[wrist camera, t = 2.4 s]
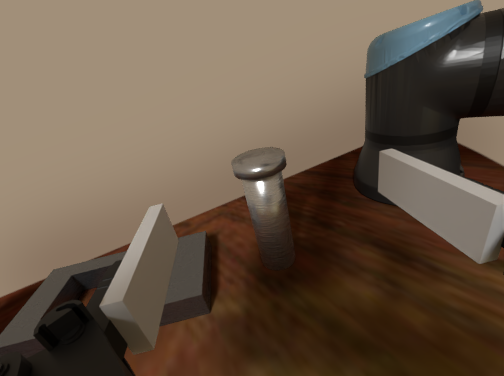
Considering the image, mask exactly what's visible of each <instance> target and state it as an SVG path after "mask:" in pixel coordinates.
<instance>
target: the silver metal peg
mask: <svg viewBox="0 0 504 376" xmlns="http://www.w3.org/2000/svg"><path fill="white" fill-rule="evenodd" d="M231 164H232V168H233V172H234V175H235V177H237V178H238V179H241V180H242V184H243V187H244V192H245V196H246V200H247V204H248V208H249V212H250V216H251V220H252V224H253V228H254V231H255V235H256V239H257V243H258V247H259V251H260V255H261V259H262V263H263V265H264V266H265V267H267V268H268V269H271V270H283V269H286V268H288V267H289V266H291V265H292V264H293V263H294V261H295V250H294V244H293V237H292V231H291V225H290V219H289V213H288V207H287V201H286V195H285V189H284V182H283V177H282V170H283V169H284V168H285V167H286V158H285V153H284V151H283V150H282V149H279V148H273V147H272V148H271V147H270V148H269V147H268V148H259V149H254V150H250V151H247V152H245V153H242V154H240V155H239V156H237V157H235V158H234V159H233V160H232V163H231Z"/></svg>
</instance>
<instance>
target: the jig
mask: <svg viewBox="0 0 504 376" xmlns="http://www.w3.org/2000/svg"><path fill="white" fill-rule="evenodd" d="M178 240H179V242H178V246H177V250H176V255H175V259H174V264H173V268H172V272H171V277H170V281H169V286H168V290H167V294H166V299H165V303H164V308H163V312H162V316H161V321H160V325H159V326H163V325H167V324H170V323H174V322H178V321H182V320H186V319H189V318H193V317H197V316H201V315H204V314H208V313H210V293H211V250H212V247H211V244H210V241H209V238H208V236H207V233H206V231H204V232H200V233H196V234H192V235H188V236H184V237H180V238H178ZM126 252H127V251H125V252H121V253H117V254H113V255H109V256H106V257H102V258H98V259H94V260H90V261H86V262H82V263H79V264H74V265H70V266H66V267H63V268H59V269H54V270H53V271H52V272H51V273H50V275H49V276H48V277H47V278H46V279H45V281H44V282H43V283H42V284H41V286H40V287H39V288H38V289H37V290H36V292H35V293H34V294H33V295H32V296H31V298H30V299H29V300H28V301H27V303H26V304H25V305H24V306H23V307H22V309H21V310H20V311H19V312H18V314H17V315H16V316H15V317H14V318H13V320H12V321H11V322H10V323H9V324H8V326H7V327H6V328H5V329H4V331H3V332H2V333H1V334H0V357H1V356H3V355H5V354H7V353H10V352H18V353H20V354H22V355H23V356H24V357H25V358H28V357H30V356H32V355H34V354H36V353H38V352H40V351H42V350H44V349H46V348H45V347H44V346H43V345H42V344H41V343H40V342H39V341H38V340H37V339H36V338H35V337H34V336H33V334H34V329H35V327H36V326H37V324H38V323H39V321H40V320H41V319H42V318H43V317H44V316H45V315H46V314H47V313H49V312H50V311H51V310H52V309H54V308H55V307H57V306H59V305H61V304H62V303H64V302H67V301H71V300H78V298H79V297H80V295H81V293H82V292H83V290H87V289H91V288H95V287H98V285H99V283H100V282H101V280H102V278H103V276H104V274H105V273H106V271H107V270H108V269H109V268H110V267H111V266H112V265H113V264H114V262H115V261H119V260H123V258H124V256H125V254H126Z"/></svg>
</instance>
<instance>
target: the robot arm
mask: <svg viewBox="0 0 504 376" xmlns="http://www.w3.org/2000/svg"><path fill="white" fill-rule="evenodd" d="M482 10H483V6H482V5H481V1H480V0H474V1H472V2H469V3H466V4H463V5H460V6H458V7H455V8H452V9H449V10H446V11H443V12H441V13H438V14H435V15H433V16H430V17H427V18H424V19H421V20H419V21H416V22H413V23H411V24H408V25H405V26H402V27H400V28H397V29H395V30H392V31H389V32H387V33H384V34H382V35H380V36H378V37H376V38H375V39H374V40H373V41H372V42H371V44H370V46H369V48H368V51H367V64H366V74H365V75H364V77H365V78H366V125H365V130H366V131H365V143H364V145H363V148H362V151H361V153H360V156H359V159H358V162H357V165H356V167H355V170H354V185H355V187H356V189H357V190H358V191H359V192H360V193H362V194H363V195H365V196H367V197H369V198H371V199H373V200H376V201H379V202H383V203H387V204H392V205H397V206H399V207H400V208H402V209H403V210H404V211H406V212H407V213H409V214H410V215H411V216H413V217H414V218H416V219H417V220H418V221H420V222H421V223H423V224H424V225H425V226H427V227H428V228H430V229H431V230H432V231H434V232H435V233H437V234H438V235H439V236H441V237H442V238H444V239H445V240H446V241H448V242H449V243H451V244H452V245H453V246H455V247H456V248H458V249H459V250H460V251H462V252H463V253H465V254H466V255H467V256H469V257H470V258H472V259H473V260H474V261H476V262H477V263H479V264H481V263H485V262H488V261H492V260H496V259H497V258H498V255H499V253H500V250H501V247H503V248H504V192H503V191H500V190H498V189H493V187H490V186H488V185H484V184H483V183H480V182H478V181H475V180H473V179H469V178H465V177H464V169H463V167H462V166H461V160H460V153H459V148H458V144H457V140H456V136H457V130H458V125H459V121H460V119H461V118H468V117H486V116H487V117H489V116H504V8H502V9H498V10H495V11H490V12H485V13H481V11H482ZM178 242H179V240H178V238H177V235H176V233H175V231H174V228H173V226H172V224H171V221H170V219H169V217H168V214H167V212H166V210H165V207H164V205H163V204H159V205H154V206H150V207H149V210H148V211H147V213H146V215H145V217H144V219H143V221H142V223H141V225H140V227H139V229H138V231H137V233H136V235H135V237H134V239H133V241H132V243H131V245H130V247H129V249H128V251H127V252H126V254H125V256H124V258H123V260H119V261H115V262H114V264H113V265H112V266H111V267H110V268H109V269H108V270H107V271H106V273H105V274H104V276H103V278H102V280H101V282H100V283H99V285H98V287H97V290H95V292H94V294H93V296H92V297H91V299H90V301H89V303H88V305H87V306H86V307H85V306H84V305H83V303H82V302H81V301H79V300H71V301H67V302H64V303H62V304H61V305H59V306H57V307H55V308H54V309H52V310H51V311H50V312H49V313H47V314H46V315H45V316H44V317H43V318H42V319H41V320H40V321H39V323H38V324H37V326H36V327H35V329H34V334H33V336H34V337H35V338H36V339H37V340H38V341H39V342H40V343H41V344H42V345H43V346H44V347H45V348H46V349H44V350H42V351H40V352H38V353H36V354H34V355H32V356H30V357H28V358H25V357H24V356H23V355H22V354H20V353H18V352H10V353H7V354H5V355H3V356H1V357H0V376H135V374H134V372H133V371H132V369H131V367H130V365H129V364H128V362H127V361H126V359H125V358H124V354H125V351H126V348H127V346H128V347H129V348H130V350H131V351H132V352H133V354H138V353H142V352H145V351H149V350H153V349H154V347H155V343H156V338H157V334H158V329H159V325H160V321H161V316H162V312H163V308H164V303H165V299H166V294H167V290H168V286H169V281H170V277H171V272H172V268H173V264H174V259H175V255H176V250H177V246H178ZM503 275H504V274H503Z"/></svg>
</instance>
